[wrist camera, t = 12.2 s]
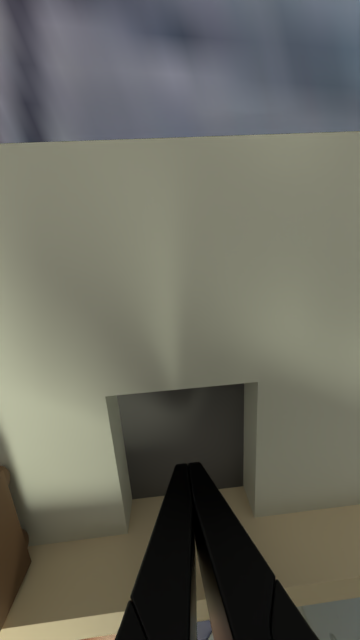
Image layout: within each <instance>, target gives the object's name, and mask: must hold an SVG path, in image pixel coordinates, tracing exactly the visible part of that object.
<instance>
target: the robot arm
mask: <svg viewBox="0 0 360 640" xmlns="http://www.w3.org/2000/svg"><path fill="white" fill-rule="evenodd" d="M195 543H196V548H195ZM196 550H197V556H198V562H199V567H200V572H201V577H202V582H203V587H204V592H205V597H206V602H207V607H208V612H209V617H210V622H211V628H212V633H213V638H214V640H319V638H318V637H317V635H316V634H315V633H314V631H313V630H312V629H311V627H310V626H309V624H308V623H307V621H306V620H305V618H304V617H303V616H302V614H301V613H300V611H299V610H298V608H297V607H296V605H295V604H294V603H293V601H292V600H291V598H290V597H289V595H288V594H287V592H286V591H285V589H284V588H283V586H282V585H281V583H280V581H279V580H278V579H276V576H275V574H274V573H273V571H272V570H271V568H270V567H269V565H268V564H267V562H266V561H265V559H264V557H263V556H262V554H261V553H260V551H259V550H258V548H257V547H256V545H255V544H254V542H253V541H252V539H251V538H250V536H249V535H248V533H247V532H246V530H245V529H244V527H243V526H242V524H241V523H240V521H239V520H238V518H237V517H236V515H235V514H234V512H233V510H232V509H231V507H230V506H229V504H228V503H227V501H226V500H225V498H224V497H223V495H222V494H221V492H220V491H219V489H218V488H217V486H216V485H215V483H214V482H213V480H212V479H211V477H210V476H209V474H208V473H207V471H206V470H205V468H204V467H203V465H202V464H201V462H190V463H189V464H187V463H181V464H176V465H175V467H174V470H173V473H172V476H171V479H170V482H169V484H168V487H167V490H166V493H165V496H164V499H163V502H162V505H161V508H160V511H159V514H158V517H157V519H156V522H155V525H154V528H153V531H152V534H151V537H150V540H149V543H148V546H147V549H146V552H145V554H144V557H143V560H142V563H141V566H140V569H139V572H138V575H137V578H136V581H135V584H134V587H133V589H132V592H131V595H130V599H131V600H129V601H128V604H127V606H126V609H125V612H124V615H123V618H122V621H121V624H120V627H119V629H118V632H117V635H116V638H115V640H197V600H196Z"/></svg>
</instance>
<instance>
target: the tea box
mask: <svg viewBox="0 0 360 640" xmlns="http://www.w3.org/2000/svg"><path fill="white" fill-rule="evenodd" d="M297 608H298V610H299V611H300V613H301V614H302V616H303V617H304V618H305V620H306V621H307V623H308V624H309V626H310V627H311V629H312V630H313V631H314V633H315V634H316V635H317V637H318V638H319V640H360V597H359V598H352V599H345V600H339V601H332V602H325V603H319V604H312V605H305V606H299V607H297ZM208 640H214V638H213V633H211V634H210V636H209V638H208Z"/></svg>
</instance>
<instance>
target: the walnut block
mask: <svg viewBox="0 0 360 640" xmlns="http://www.w3.org/2000/svg"><path fill="white" fill-rule="evenodd" d="M9 482H10V473H9V471H8V469H7V468H6V467H4V466H1V465H0V631H1V629H2V627H3V624H4V622H5V620H6V618H7V615H8V613H9V611H10V609H11V607H12V604H13V602H14V600H15V598H16V595H17V593H18V591H19V589H20V586H21V584H22V582H23V580H24V577H25V575H26V573H27V571H28V568H29V566H30V564H31V562H32V561H31V558H30V555H29V552H28V544H29V536H28V533H27V532H26V531H25V530H24V529H22V528H21V526H20V523H19V519H18V516H17V513H16V510H15V506H14V503H13V500H12V497H11V493H10V490H9V487H8V485H9Z"/></svg>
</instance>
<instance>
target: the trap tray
mask: <svg viewBox="0 0 360 640" xmlns="http://www.w3.org/2000/svg"><path fill="white" fill-rule="evenodd" d="M190 462H201V464H202V465H203V467H204V468H205V470H206V471H207V473H208V474H209V476H210V477H211V479H212V480H213V482H214V483H215V485H216V486H217V488H218V489H219V491H220V492H221V494H222V495H223V497H224V498H225V500H226V501H227V503H228V504H229V506H230V507H231V509H232V510H233V512H234V514H235V515H236V517H237V518H238V520H239V521H240V523H241V524H242V526H243V527H244V529H245V530H246V532H247V533H248V535H249V536H250V538H251V539H252V541H253V542H254V544H255V545H256V547H257V548H258V550H259V551H260V553H261V554H262V556H263V557H264V559H265V561H266V562H267V564H268V565H269V567H270V568H271V570H272V571H273V573H274V574H275V576H276V579H278V580H279V581H280V583H281V585H282V586H283V588H284V589H285V591H286V592H287V594H288V595H289V597H290V598H291V600H292V601H293V603H294V604H295V605H296V607H299V606H305V605H312V604H319V603H325V602H332V601H339V600H345V599H352V598H359V597H360V131H351V132H322V133H293V134H265V135H236V136H207V137H178V138H149V139H120V140H91V141H62V142H33V143H4V144H0V465H1V466H4V467H6V468H7V469H8V471H9V473H10V482H9V485H8V487H9V490H10V493H11V497H12V500H13V503H14V506H15V510H16V513H17V516H18V519H19V523H20V526H21V528H22V529H24V530H25V531H26V532H27V533H28V536H29V544H28V552H29V555H30V558H31V561H32V562H31V564H30V566H29V568H28V571H27V573H26V575H25V577H24V580H23V582H22V584H21V586H20V589H19V591H18V593H17V595H16V598H15V600H14V602H13V604H12V607H11V609H10V611H9V613H8V615H7V618H6V620H5V622H4V624H3V627H2V629H1V631H0V640H79V639H86V638H93V637H99V636H106V635H113V634H117V632H118V629H119V627H120V624H121V621H122V618H123V615H124V612H125V609H126V606H127V604H128V601H129V600H131V599H130V595H131V592H132V589H133V587H134V584H135V581H136V578H137V575H138V572H139V569H140V566H141V563H142V560H143V557H144V554H145V552H146V549H147V546H148V543H149V540H150V537H151V534H152V531H153V528H154V525H155V522H156V519H157V517H158V514H159V511H160V508H161V505H162V502H163V499H164V496H165V493H166V490H167V487H168V484H169V482H170V479H171V476H172V473H173V470H174V467H175V465H176V464H181V463H187V464H189V463H190ZM195 548H196V543H195ZM196 600H197V622H199V621H206V620H210V617H209V612H208V607H207V602H206V597H205V592H204V587H203V582H202V577H201V572H200V567H199V562H198V556H197V550H196Z"/></svg>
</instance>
